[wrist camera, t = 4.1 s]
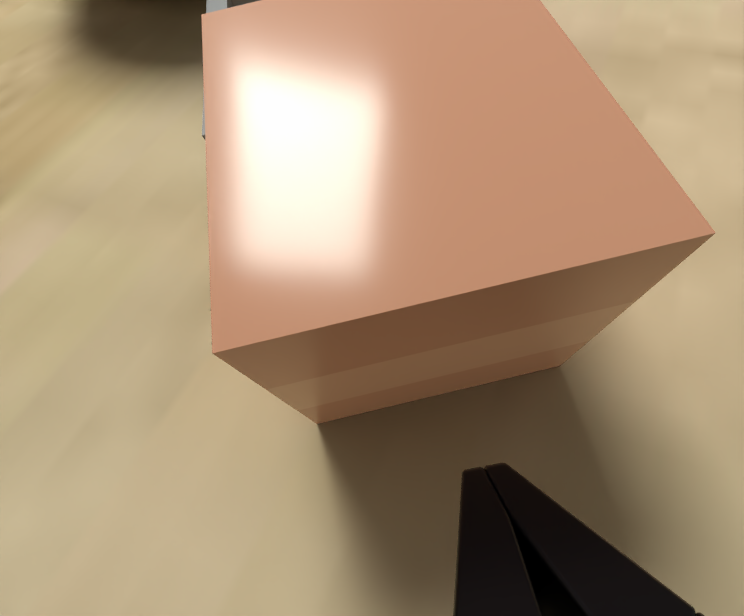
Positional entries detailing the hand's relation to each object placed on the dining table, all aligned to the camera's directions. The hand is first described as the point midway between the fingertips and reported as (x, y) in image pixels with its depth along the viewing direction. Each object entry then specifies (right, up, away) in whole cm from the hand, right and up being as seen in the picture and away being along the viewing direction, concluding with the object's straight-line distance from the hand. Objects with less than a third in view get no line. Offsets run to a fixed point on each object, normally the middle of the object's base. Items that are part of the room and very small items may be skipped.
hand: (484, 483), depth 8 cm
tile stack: (-1, +5, +11) cm, 12 cm away
